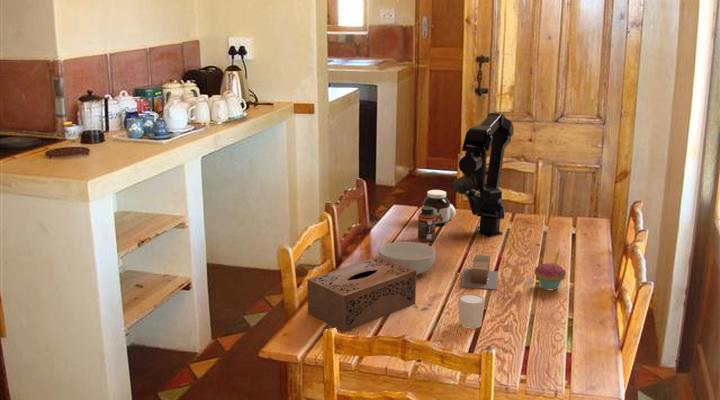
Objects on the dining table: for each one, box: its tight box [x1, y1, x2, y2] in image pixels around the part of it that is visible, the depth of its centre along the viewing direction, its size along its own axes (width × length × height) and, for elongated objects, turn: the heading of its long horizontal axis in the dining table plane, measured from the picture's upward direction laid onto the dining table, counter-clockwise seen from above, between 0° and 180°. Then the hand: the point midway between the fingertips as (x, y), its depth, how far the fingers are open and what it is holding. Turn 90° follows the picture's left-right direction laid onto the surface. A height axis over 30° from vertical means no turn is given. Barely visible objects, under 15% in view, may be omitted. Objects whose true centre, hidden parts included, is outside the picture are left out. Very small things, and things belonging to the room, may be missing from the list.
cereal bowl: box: [378, 241, 437, 276], centre depth 224 cm, size 17×17×7 cm
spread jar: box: [421, 189, 456, 227], centre depth 271 cm, size 12×11×12 cm
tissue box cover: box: [306, 256, 417, 333], centre depth 197 cm, size 26×14×10 cm, turn 132°
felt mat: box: [460, 268, 499, 291], centre depth 219 cm, size 14×10×1 cm
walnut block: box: [471, 254, 491, 284], centre depth 220 cm, size 4×4×12 cm
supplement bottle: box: [417, 206, 437, 243], centre depth 252 cm, size 6×6×11 cm
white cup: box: [457, 293, 486, 330], centre depth 189 cm, size 7×7×7 cm
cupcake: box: [534, 249, 567, 290], centre depth 212 cm, size 9×8×12 cm
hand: (474, 214), depth 240 cm, fingers closed
